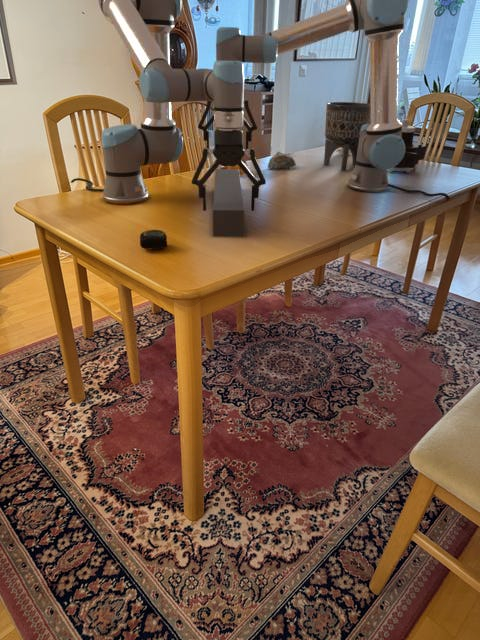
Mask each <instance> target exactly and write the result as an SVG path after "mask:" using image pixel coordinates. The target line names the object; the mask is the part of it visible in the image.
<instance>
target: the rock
mask: <svg viewBox="0 0 480 640" xmlns="http://www.w3.org/2000/svg"><path fill="white" fill-rule="evenodd" d="M296 164H297V163H296V159H294V157H292V156H291V155H288V154H286V153H283V152H281V151H277V152H276V153H275V154H274V155H273V156H272V157H271V158H270V159H269V161H268V164H267V168H268V169H269V170H271V169H272V170H274V171H282V170H290V169H291V168H293V167H296V166H297V165H296Z"/></svg>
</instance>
